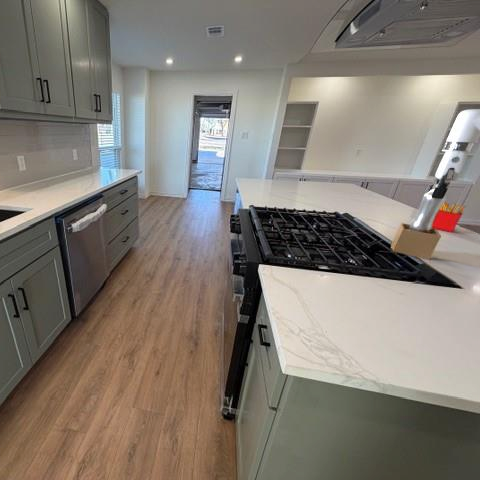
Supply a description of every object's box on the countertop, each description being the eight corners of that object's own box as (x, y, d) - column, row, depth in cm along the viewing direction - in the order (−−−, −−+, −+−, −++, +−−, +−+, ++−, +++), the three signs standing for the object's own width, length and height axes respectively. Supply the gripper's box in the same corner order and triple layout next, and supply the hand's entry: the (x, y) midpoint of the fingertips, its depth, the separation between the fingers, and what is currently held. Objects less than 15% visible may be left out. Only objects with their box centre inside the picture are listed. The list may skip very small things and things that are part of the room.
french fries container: (430, 225, 146) (442, 201, 140) (453, 230, 139) (466, 205, 133) (428, 227, 142) (440, 203, 136) (451, 232, 135) (465, 207, 130)
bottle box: (423, 254, 109) (436, 229, 104) (427, 262, 101) (441, 236, 97) (390, 246, 115) (400, 222, 110) (391, 254, 108) (402, 228, 103)
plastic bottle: (405, 231, 105) (428, 183, 96) (408, 227, 109) (430, 181, 100) (426, 236, 100) (452, 187, 92) (429, 232, 104) (454, 184, 96)
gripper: (481, 149, 83) (453, 202, 90) (467, 147, 95) (444, 194, 102) (448, 147, 87) (425, 198, 94) (439, 146, 99) (419, 191, 107)
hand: (435, 196), depth 98 cm, fingers closed on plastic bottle, 6 cm apart
